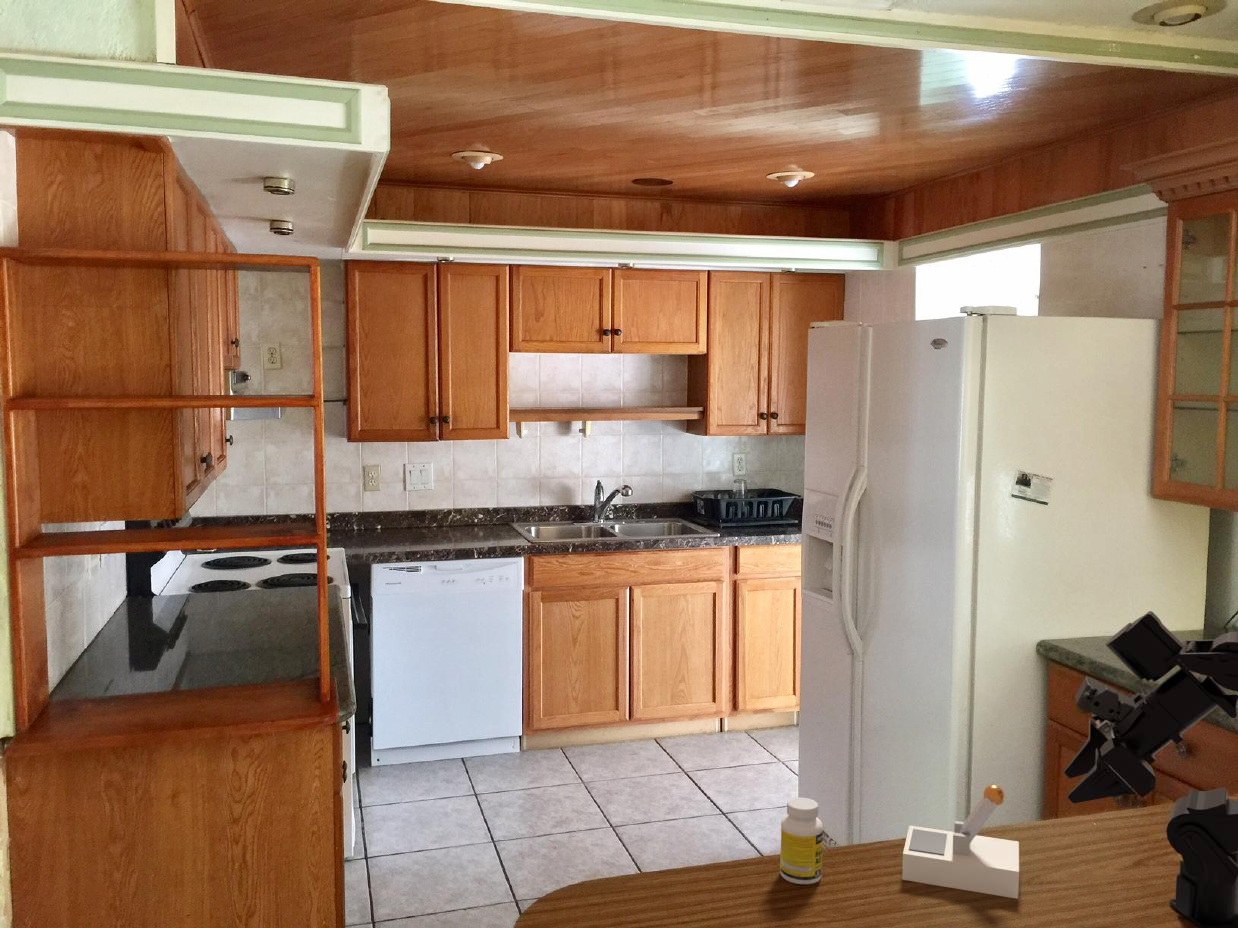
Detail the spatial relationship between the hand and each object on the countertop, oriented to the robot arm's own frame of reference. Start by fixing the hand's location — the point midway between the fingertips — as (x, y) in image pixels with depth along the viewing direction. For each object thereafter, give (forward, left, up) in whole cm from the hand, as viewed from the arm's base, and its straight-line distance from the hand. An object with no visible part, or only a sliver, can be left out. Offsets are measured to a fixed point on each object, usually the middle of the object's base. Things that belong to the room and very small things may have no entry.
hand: (1068, 787), depth 130 cm
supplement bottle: (+32, -8, -14) cm, 36 cm away
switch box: (+11, -6, -13) cm, 18 cm away
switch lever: (+11, -6, -9) cm, 15 cm away
